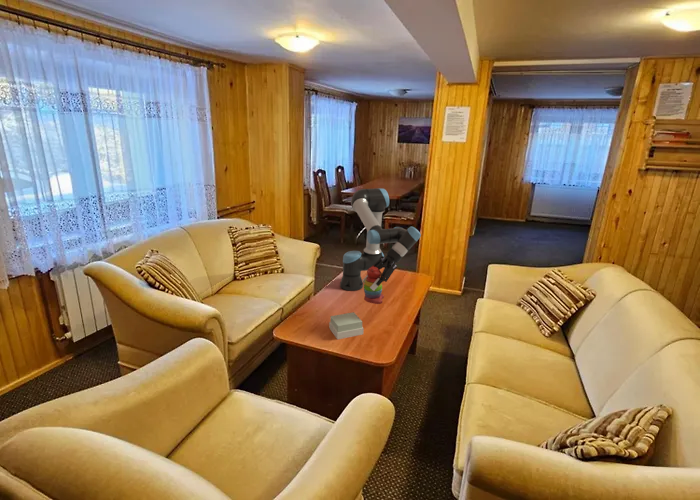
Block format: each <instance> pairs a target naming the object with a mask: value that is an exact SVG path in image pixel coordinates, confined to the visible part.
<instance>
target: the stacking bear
mask: <svg viewBox="0 0 700 500" xmlns="http://www.w3.org/2000/svg"><path fill="white" fill-rule="evenodd" d="M382 272H383V271H381V269H380V270H379V269H378V268H377V267H374V266H372V267H370V268H369V269H368V270H367V272H366V276H367V275H368V277H367V279H366V280H365V283H363V290H364V291H363V292H364V298H363V299H364V301H365V302H367V303H369V304H374V305H380V304H383V299H385V295H384V294H383V293H382V292H383V284H382V283H383V282H382V283H381V284H380V285H379V286H378V287H377V288H376V289H375V290H374V291H373V290H372V289H371V288H370V287H371V286H372V285H373V283H374V282H375V281H376V280H377V279H378V278H379V277H381V274H382ZM379 279H380V278H379Z"/></svg>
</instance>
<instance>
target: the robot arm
mask: <svg viewBox="0 0 700 500" xmlns="http://www.w3.org/2000/svg"><path fill="white" fill-rule="evenodd" d="M389 205H390V197H389V193H388V191H387V190H386V189H385V188H381V187H380V188H378V187H376V188H361V189H358V190H357V191H355V192H354V193H353V195H352V197H351V199H350V206H351V208H352V210H353V211H354V212H355V213H357V216H358V217H359V219H360V220H361V223H363V225H364V227H365V229H366V245H365V247H364V248H363V252H361V251H360V250H349V251H347V252H345V253H344V254H343V256H342V277H341V279H340V282H339V287H340V289H343V290H344V291H351V292H354V291H360V290H362V289H364V284H365V280H366V279H367V277H368V275H367V274H366V276H365V277H364V278H362V276H361V273H362V272H366V271H367V270H368V269H369V268H370V267H372V266H374V267H377V268H378V269H379V270H380V271H381V269H383V271H381V272H382V274H381V276H380V277H379V278H380V279H379V278H378V279H377V280H376V281H375V282H374V283H373V285H372V286H371V287H370V288H371V289H372V290H373V291H374V290H375V289H376V288H377V287H378V286H379V285H380V284H381V283H384V282H385V283H386V282H387V281H388V280H389V279H390V277H391V276H392V274H393V273H394V271H395V270H396V269H397V268H398V265H396V264H397V263H399V262H400V261H401V260H402V258H403V257H404V256H405V255H406V254H407V253H408V252H409V251H410V250H411V248H412V247H413V246H414V245H415V244H416V243H417V242H418V240H419V239H420V238H421V235H422V234H421V232H420V231H419V230H418V229H417V228H416V227H414V226H409V227H408V228H407V229H406V228H403V227H401V226H395V227H393V228H383V227H382V219H383V213H384V212H386V208H388V207H389ZM393 243H394V244H393ZM382 244H393V245H392V247H391V248H390V249H389V250H388V251H387V252H386V256H385V255H384V253H383V251H382V250H381V247H380V245H382Z"/></svg>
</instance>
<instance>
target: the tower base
mask: <svg viewBox="0 0 700 500" xmlns="http://www.w3.org/2000/svg"><path fill="white" fill-rule="evenodd" d="M328 325H329V329H330V331H331V333H332V334H333V336H334V337H335V339H337V340H342V339H346V338H347V339H348V338H351V337H357V336H362V335H363V336H364V327H363V321H362V320H361V318H360V317H359V316H358V315H357V314H356V313H355V312H352V311H351V312H347V313H342V314H337V315H336V314H335V315H331V316H330V321H329V322H328Z"/></svg>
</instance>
